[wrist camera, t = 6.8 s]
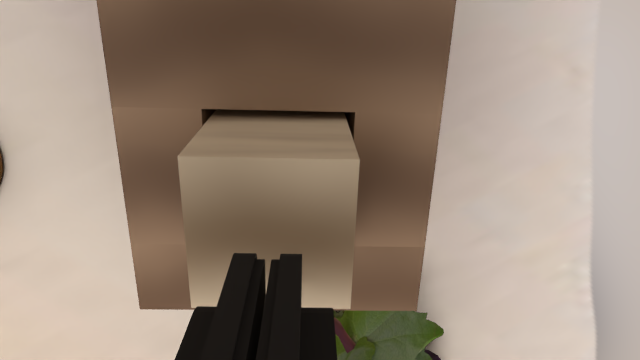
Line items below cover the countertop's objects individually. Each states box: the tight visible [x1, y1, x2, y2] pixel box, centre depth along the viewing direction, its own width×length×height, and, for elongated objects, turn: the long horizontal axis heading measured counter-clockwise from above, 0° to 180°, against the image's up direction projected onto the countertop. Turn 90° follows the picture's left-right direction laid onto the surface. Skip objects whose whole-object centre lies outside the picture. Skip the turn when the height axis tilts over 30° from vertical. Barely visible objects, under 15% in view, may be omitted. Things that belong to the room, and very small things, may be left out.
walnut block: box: [97, 0, 456, 311], centre depth 19 cm, size 24×12×8 cm, turn 178°
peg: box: [177, 109, 360, 309], centre depth 17 cm, size 5×5×8 cm
